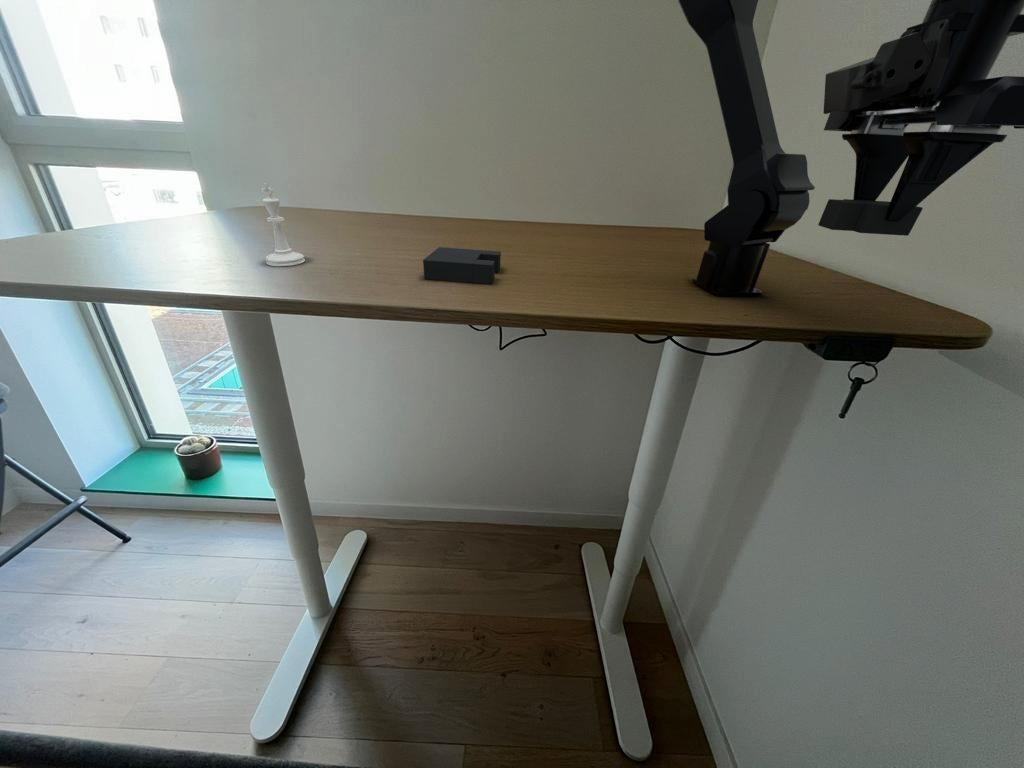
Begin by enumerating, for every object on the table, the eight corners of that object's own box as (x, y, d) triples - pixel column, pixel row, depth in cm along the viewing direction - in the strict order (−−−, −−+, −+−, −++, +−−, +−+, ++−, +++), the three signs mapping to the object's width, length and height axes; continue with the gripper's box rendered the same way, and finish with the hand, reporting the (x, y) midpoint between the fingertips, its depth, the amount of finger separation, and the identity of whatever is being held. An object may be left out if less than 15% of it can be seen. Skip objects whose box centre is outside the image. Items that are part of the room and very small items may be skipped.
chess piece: (290, 267, 54) (269, 186, 49) (258, 264, 55) (234, 183, 50) (312, 259, 58) (296, 182, 53) (282, 256, 59) (263, 180, 54)
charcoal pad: (500, 269, 58) (500, 251, 57) (491, 284, 52) (492, 265, 50) (439, 264, 59) (438, 246, 57) (424, 279, 52) (422, 259, 51)
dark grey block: (876, 227, 42) (888, 201, 41) (908, 235, 38) (923, 207, 37) (812, 223, 42) (822, 197, 41) (837, 231, 38) (850, 203, 37)
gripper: (805, 30, 40) (750, 200, 48) (974, -45, 24) (848, 229, 32) (922, 33, 39) (846, 206, 47) (1175, -41, 23) (995, 238, 31)
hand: (873, 217), depth 39 cm, fingers closed on dark grey block, 4 cm apart
